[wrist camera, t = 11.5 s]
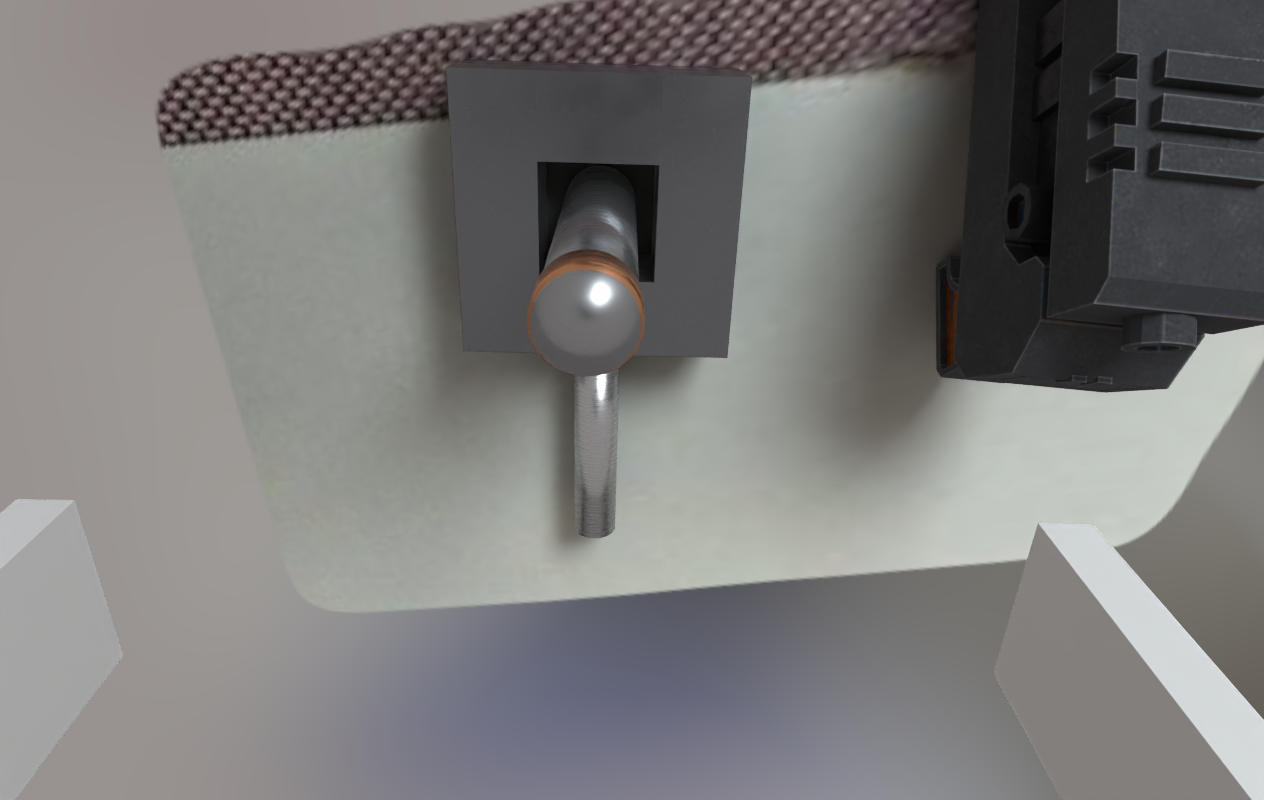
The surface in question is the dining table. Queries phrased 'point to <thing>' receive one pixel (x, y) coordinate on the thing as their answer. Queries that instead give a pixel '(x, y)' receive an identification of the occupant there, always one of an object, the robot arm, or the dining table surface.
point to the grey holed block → (610, 134)
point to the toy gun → (1107, 192)
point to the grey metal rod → (590, 279)
